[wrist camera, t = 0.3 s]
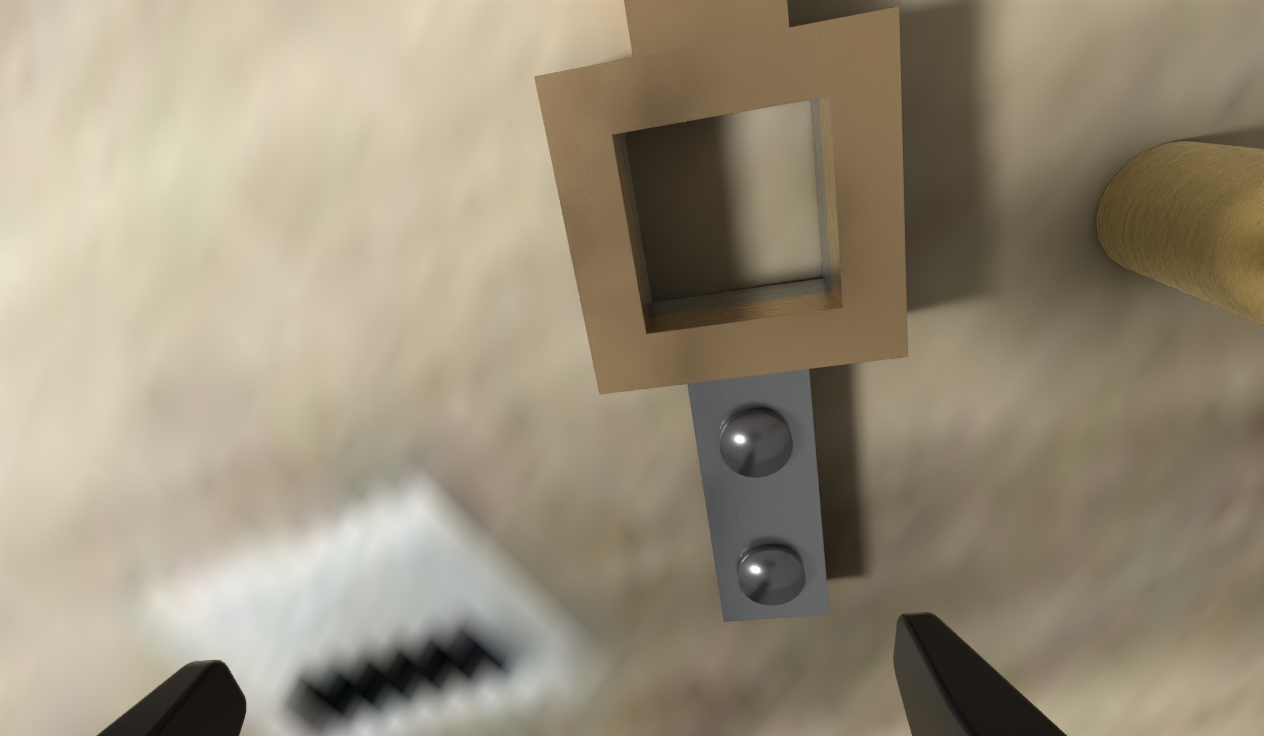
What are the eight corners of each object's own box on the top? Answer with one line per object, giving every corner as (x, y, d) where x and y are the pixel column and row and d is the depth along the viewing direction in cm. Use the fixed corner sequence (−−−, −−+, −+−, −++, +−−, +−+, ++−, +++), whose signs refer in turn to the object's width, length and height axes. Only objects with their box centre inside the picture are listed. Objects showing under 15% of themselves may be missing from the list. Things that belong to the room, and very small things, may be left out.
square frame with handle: (890, 579, 24) (919, 651, 21) (658, 597, 26) (653, 668, 23) (856, -258, 16) (896, -343, 13) (509, -172, 17) (467, -230, 14)
